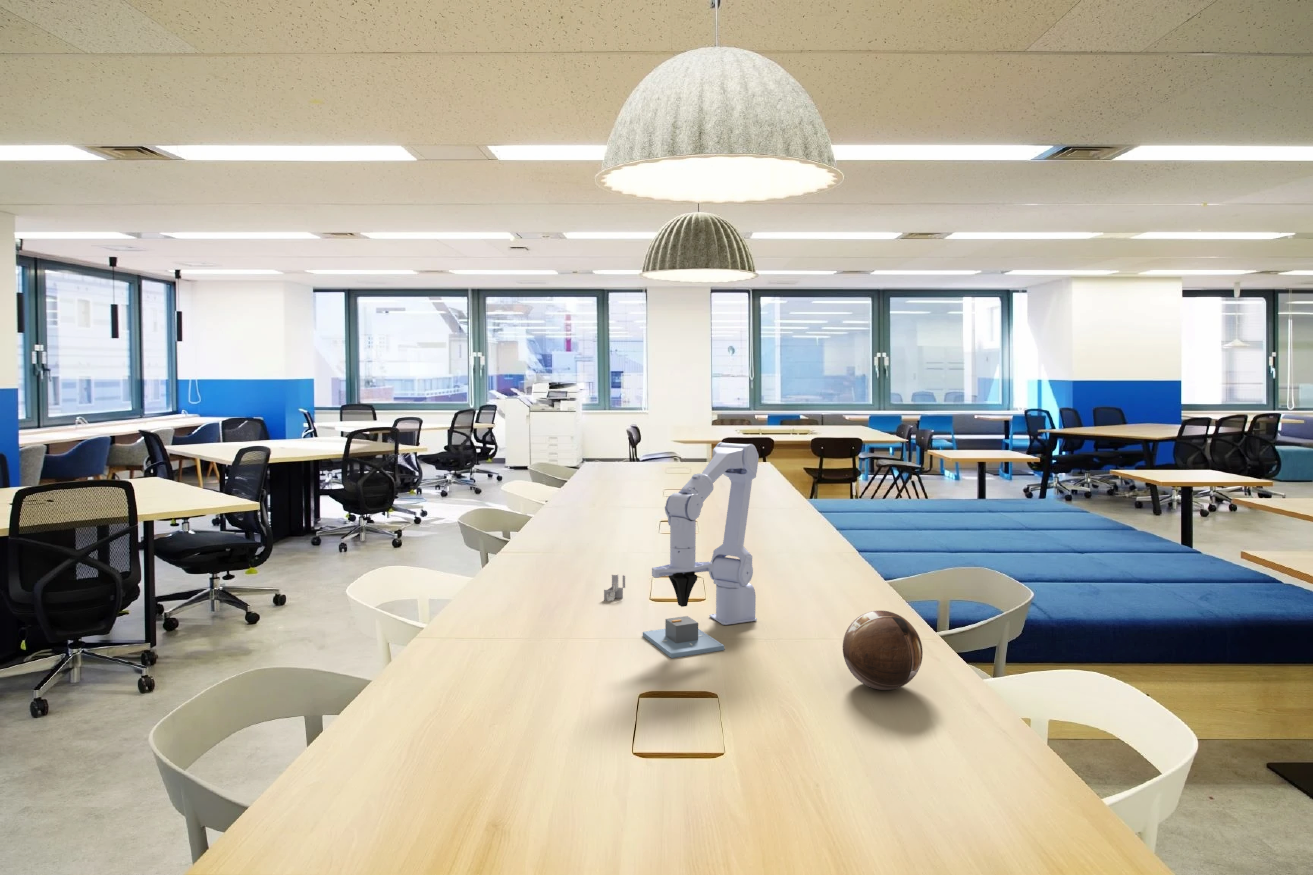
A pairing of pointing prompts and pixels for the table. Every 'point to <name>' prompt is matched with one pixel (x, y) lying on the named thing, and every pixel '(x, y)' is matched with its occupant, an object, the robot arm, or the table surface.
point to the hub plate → (683, 644)
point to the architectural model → (614, 589)
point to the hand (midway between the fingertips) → (682, 605)
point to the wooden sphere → (882, 650)
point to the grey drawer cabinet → (681, 629)
